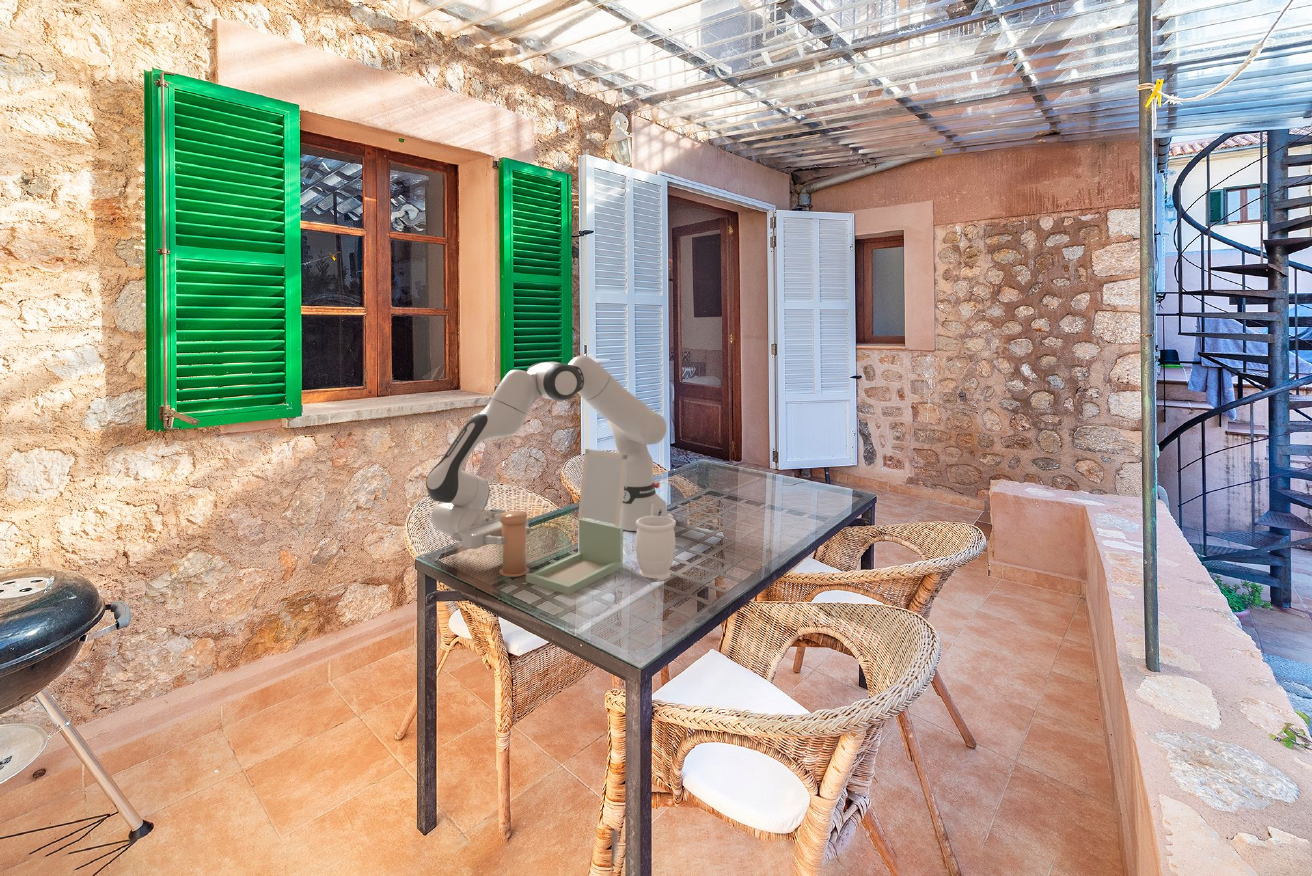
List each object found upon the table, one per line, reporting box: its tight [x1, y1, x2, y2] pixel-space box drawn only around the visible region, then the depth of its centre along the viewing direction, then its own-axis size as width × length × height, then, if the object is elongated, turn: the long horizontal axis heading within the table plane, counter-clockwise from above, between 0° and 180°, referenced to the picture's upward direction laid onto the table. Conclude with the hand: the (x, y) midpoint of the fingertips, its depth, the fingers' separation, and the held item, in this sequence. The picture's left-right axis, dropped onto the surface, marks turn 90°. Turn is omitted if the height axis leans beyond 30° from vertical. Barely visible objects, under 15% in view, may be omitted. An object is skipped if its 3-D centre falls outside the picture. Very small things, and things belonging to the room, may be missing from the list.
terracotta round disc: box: [499, 565, 530, 578], centre depth 167 cm, size 8×8×1 cm
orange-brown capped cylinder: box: [500, 510, 528, 574], centre depth 166 cm, size 7×7×15 cm
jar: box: [635, 516, 677, 582], centre depth 167 cm, size 11×10×15 cm
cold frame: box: [525, 518, 624, 596], centre depth 165 cm, size 22×14×12 cm, turn 147°
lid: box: [577, 448, 628, 527], centre depth 171 cm, size 19×14×1 cm
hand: (516, 536), depth 165 cm, fingers open, 8 cm apart
